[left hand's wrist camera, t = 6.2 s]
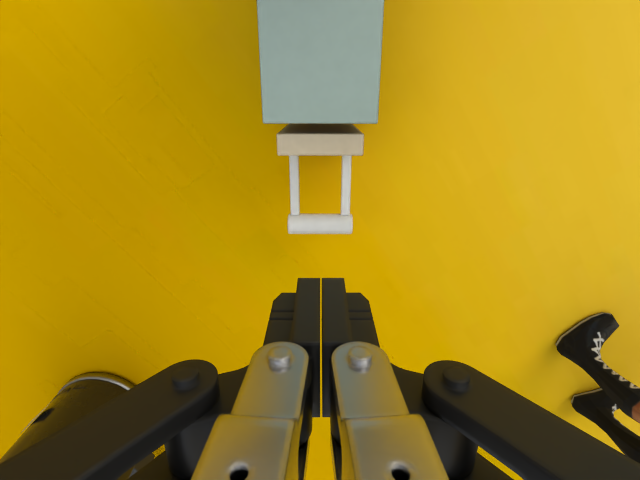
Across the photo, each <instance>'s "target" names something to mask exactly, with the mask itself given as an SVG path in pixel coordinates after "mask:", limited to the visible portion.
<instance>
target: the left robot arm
mask: <svg viewBox="0 0 640 480" xmlns="http://www.w3.org/2000/svg"><path fill="white" fill-rule="evenodd" d="M44 409H45V410H44ZM44 409H43V410H44V411H43V410H42V411H43V412H42V411H41V412H40V413H39V414H38V415H37V416H36V417H35V418H34V419H33V420H32V421H31V422H30V423H29V424H28V425H27V426H26V428H27V427H28V426H29V425H30V424H31V423H32V422H33V421H34V420H35V419H36V420H35V421H34V422H33V423H32V424H31V425H30V426H29V428H28V429H27V430H26V431H25V432H24V433H23V434H22V435H21V437H20V438H19V439H18V440H17V441H16V442H15V443H14V444H13V446H12V447H11V448H10V449H9V450H8V451H7V452H6V454H5V455H4V456H3V457H2V458H1V459H0V480H305V479H306V471H307V462H308V454H309V444H310V439H309V437H310V434H311V432H312V417H320V278H298V282H297V290H296V293H281V294H280V295H279V296H278V297H277V298H276V299H275V300H274V301H273V305H272V309H271V313H270V318H269V322H268V326H267V331H266V335H265V340H264V344H263V346H262V347H261V348H259V349H258V350H257V351H256V352H255V353H254V354H253V356H252V358H251V361H250V364H249V365H248V366H246V367H244V368H241V369H239V370H235V371H231V372H227V373H222V374H218V372H217V369H216V368H215V366H214V365H213V364H211V363H209V362H207V361H204V360H186V361H182V362H178V363H176V364H173V365H171V366H169V367H168V368H166V369H164V370H162V371H161V372H159V373H157V374H155V375H154V376H152V377H150V378H148V379H147V380H145V381H143V382H142V383H140V384H138V385H136V386H134V385H133V384H132V383H130V382H128V381H127V380H125V379H123V378H121V377H118V376H115V375H112V374H107V373H99V372H93V373H85V374H81V375H79V376H76V377H74V378H72V379H71V380H70V381H68V382H67V383H66V384H65V385H64V387H63V388H62V389H61V390H60V391H59V393H58V394H57V395H56V396H55V398H54V399H53V400H52V401H51V402H50V403H49V404H48V405H47V406H46V407H45V408H44ZM322 417H330V424H331V439H330V444H331V454H332V463H333V471H334V479H335V480H513V479H512V478H511V477H509V476H508V475H507V474H505V473H504V472H503V471H501V470H500V469H499V468H497V467H496V466H495V465H493V464H492V463H491V462H489V461H488V460H487V459H485V458H484V457H483V456H481V455H480V454H479V453H477V449H478V446H480V447H481V448H482V449H484V450H485V451H486V452H488V453H489V454H491V455H492V456H493V457H495V458H496V459H497V460H499V461H500V462H502V463H503V464H504V465H506V466H507V467H508V468H510V469H511V470H512V471H514V472H515V473H517V474H518V475H519V476H520V477H522V478H523V479H524V480H640V464H639V463H638V462H636V461H634V460H632V459H631V458H629V457H627V456H625V455H624V454H622V453H620V452H619V451H617V450H615V449H613V448H612V447H610V446H608V445H606V444H605V443H603V442H601V441H599V440H598V439H596V438H594V437H592V436H591V435H589V434H587V433H585V432H584V431H582V430H580V429H579V428H577V427H575V426H573V425H572V424H570V423H568V422H566V421H565V420H563V419H561V418H559V417H558V416H556V415H554V414H552V413H551V412H549V411H547V410H545V409H544V408H542V407H540V406H539V405H537V404H535V403H533V402H532V401H530V400H528V399H526V398H525V397H523V396H521V395H519V394H518V393H516V392H514V391H512V390H511V389H509V388H507V387H505V386H504V385H502V384H500V383H499V382H497V381H495V380H493V379H492V378H490V377H488V376H486V375H485V374H483V373H481V372H479V371H478V370H476V369H474V368H472V367H470V366H468V365H466V364H463V363H460V362H456V361H449V360H443V361H437V362H434V363H432V364H430V365H429V366H427V368H426V369H425V371H424V374H421V373H417V372H412V371H408V370H405V369H402V368H399V367H397V366H395V365H393V364H392V363H390V361H389V358H388V356H387V354H386V353H385V352H384V351H383V350H382V349H381V348H380V346H379V342H378V338H377V334H376V329H375V325H374V321H373V317H372V313H371V309H370V304H369V301H368V300H367V299H366V298H365V297H364V296H363V295H362V294H361V293H346V290H345V282H344V278H322ZM26 428H25V429H26ZM25 429H24V430H25ZM24 430H23V431H24ZM23 431H22V432H23ZM22 432H21V433H22ZM21 433H20V434H21ZM20 434H19V435H20ZM19 435H18V436H19ZM163 444H164V445H165V451H164V452H163V453H161V454H160V455H159V456H157V457H156V458H155V459H154V457H155V455H154V454H152V452H154V451H155V450H156V449H158V448H159V447H160V446H162V445H163Z"/></svg>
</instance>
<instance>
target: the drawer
mask: <svg viewBox="0 0 640 480" xmlns="http://www.w3.org/2000/svg"><path fill="white" fill-rule="evenodd" d="M363 148H364V134H363V133H362V132H361V131H359V130H358V129H357V128H356V127H355V126H354V125H352V124H302V123H290V124H288V125H287V126H286V127H285V128H284V129H282V130H281V131H280V132H279V133H278V134H277V154H278V155H289V167H290V204H291V214H289V215H288V233H289V234H352V230H353V217H352V214H350V190H351V156H362V155H363ZM299 155H329V156H342V179H341V214H300V199H299Z"/></svg>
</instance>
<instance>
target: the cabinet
mask: <svg viewBox="0 0 640 480" xmlns="http://www.w3.org/2000/svg"><path fill="white" fill-rule="evenodd" d="M383 12H384V0H257V14H258V34H259V54H260V75H261V95H262V115H263V123H302V124H377V123H378V108H379V89H380V69H381V50H382V31H383Z"/></svg>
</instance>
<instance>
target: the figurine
mask: <svg viewBox="0 0 640 480" xmlns="http://www.w3.org/2000/svg"><path fill="white" fill-rule="evenodd" d="M618 327H619V325H618V323H617V322H616V320H615V318H614V317H613V315H612V314H610V313H599V314H596V315H593V316H590V317H588V318H586V319H585V320H583V321H581V322H579V323H578V324H577V325H575V326H574V327H573V328H571V329H570V330H569V331H567V332H566V333H564V334H563V335H562V336H560V338H559V340H558V341H557V343H556V347H557V350H558V351H559V353H560V354H561V355H563V356H565V357H566V358H568V359H570V360H571V361H573V362H574V363H576V364H577V365H579V366H580V367H581V368H583V369H584V370H585V371H586V372H587V373H588V374H589V375H590V376H591V377H592V378H593V379H594V380H595V381H596V382H597V384H598V385H599V386H600V387H601V388H600V389H597V390H593V391H589V392H585V393H581V394H577V395H574V396H573V398H572V401H571V403H572V407H573V408H574V409H575V410H576V411H577V412H578V413H580V414H581V415H583V416H585V417H586V418H588V419H589V420H591V421H592V422H594V423H596V424H597V425H598V426H599V427H600V428H601V429H602V430H603V431H605V432H606V433H607V434H608V435H609V437H610V438H611V439H612V440H613V441H614V443H615V444H616V445H617V446H618V447H619V449H620V450H621V451H622V452H623V453H624V454H625V455H626V456H627V457H629V458H631V459H632V460H634V461H636V462H638V463H639V464H640V436H638V435H636V434H635V433H633V432H632V431H630V430H629V429H628V428H626V427H625V426H624V425H622V424H621V423H620V422H619V421H618V420H617V419H616V418H614V414H613V412H614V411H615V410H617V409H619V408H620V409H621V410H622V411H623V412H624V413H625V414H626V415H627V416H629V417H631V418H632V419H634V420H635V421H637V422H638V423H640V388H639V387H637V386H636V385H634V384H632V383H631V382H629V381H628V380H626V379H624V378H623V377H622V376H620V375H619V374H617V373H616V372H615V371H613V370H612V369H610V368H609V367H608V366H607V365H606V364H605V363H604V362H603V361H602V360H601V355H600V349H601V347H602V345H603V343H604V342H605V341H606V340H607V339H608V337H609V336H610V335H611V334H612V333H613V332H614V331H615V330H616V329H617V328H618Z"/></svg>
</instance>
